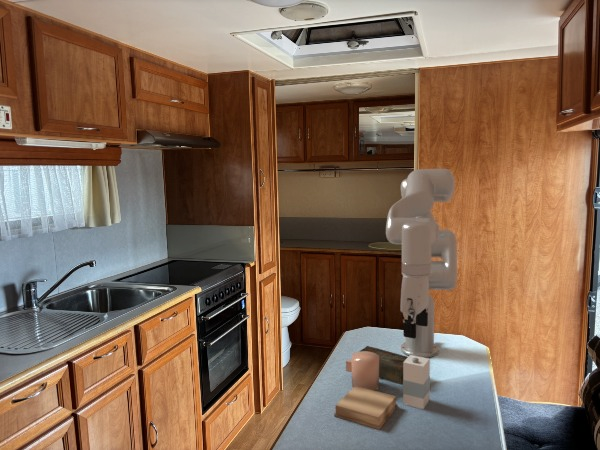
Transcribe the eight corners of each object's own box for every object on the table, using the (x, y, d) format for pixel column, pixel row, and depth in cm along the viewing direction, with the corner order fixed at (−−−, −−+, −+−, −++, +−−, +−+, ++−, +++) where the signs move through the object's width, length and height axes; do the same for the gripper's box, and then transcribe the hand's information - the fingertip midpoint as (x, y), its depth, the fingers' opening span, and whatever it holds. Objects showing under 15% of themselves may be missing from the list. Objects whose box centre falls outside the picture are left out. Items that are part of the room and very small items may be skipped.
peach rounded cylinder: (352, 375, 146) (352, 348, 145) (383, 383, 141) (383, 354, 139) (340, 386, 139) (340, 357, 138) (372, 394, 134) (372, 364, 133)
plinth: (354, 395, 134) (354, 385, 134) (397, 406, 127) (397, 395, 127) (334, 416, 123) (334, 405, 123) (379, 429, 117) (379, 418, 116)
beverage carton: (410, 388, 137) (410, 367, 136) (353, 372, 149) (353, 352, 148) (421, 378, 143) (421, 357, 143) (366, 363, 155) (366, 343, 154)
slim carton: (409, 395, 133) (409, 352, 131) (429, 400, 130) (429, 355, 128) (403, 404, 128) (403, 359, 127) (423, 409, 126) (423, 363, 124)
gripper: (413, 261, 133) (413, 319, 136) (390, 274, 119) (390, 339, 121) (439, 263, 129) (439, 323, 132) (419, 278, 115) (419, 345, 117)
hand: (415, 331), depth 126 cm, fingers open, 9 cm apart
